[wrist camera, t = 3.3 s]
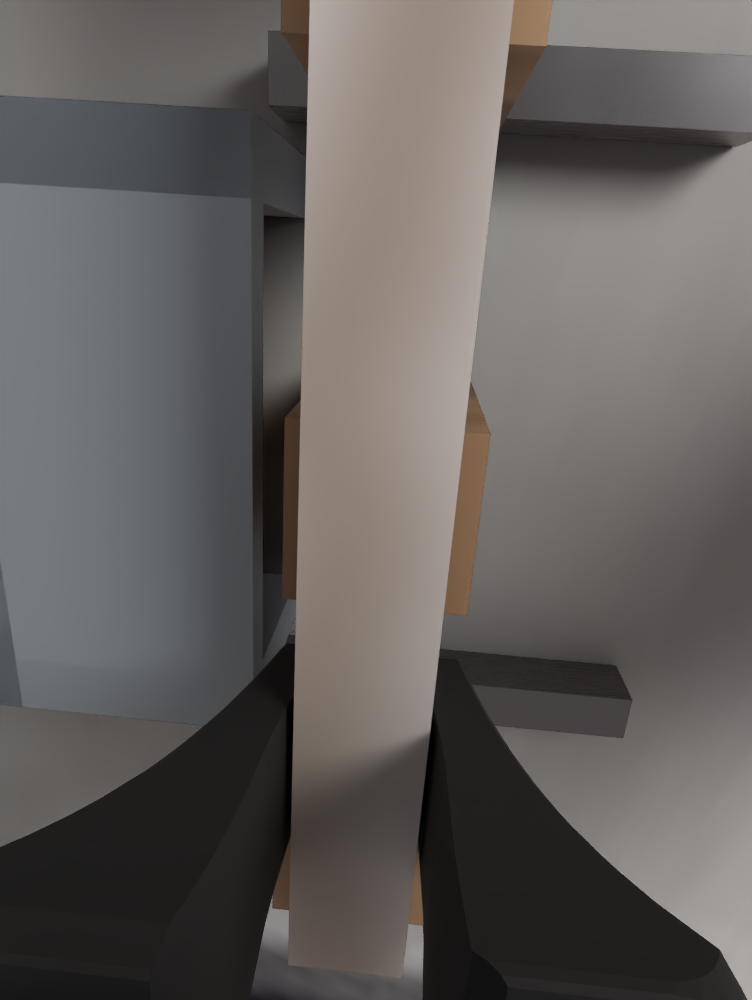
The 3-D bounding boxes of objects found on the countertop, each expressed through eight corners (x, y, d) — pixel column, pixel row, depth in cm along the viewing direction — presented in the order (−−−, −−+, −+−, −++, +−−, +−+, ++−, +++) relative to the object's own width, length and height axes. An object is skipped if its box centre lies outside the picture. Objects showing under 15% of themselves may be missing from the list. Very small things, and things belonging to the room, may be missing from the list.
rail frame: (750, 79, 13) (790, 57, 12) (607, 701, 18) (623, 738, 17) (284, 54, 13) (268, 31, 12) (277, 669, 19) (265, 701, 17)
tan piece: (504, 36, 12) (599, -234, 6) (428, 711, 18) (430, 981, 11) (349, 28, 12) (259, -244, 6) (321, 700, 18) (259, 961, 11)
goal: (306, 158, 14) (250, 109, 10) (296, 614, 18) (253, 730, 14) (30, 141, 14) (-150, 86, 10) (80, 594, 18) (-31, 701, 14)
